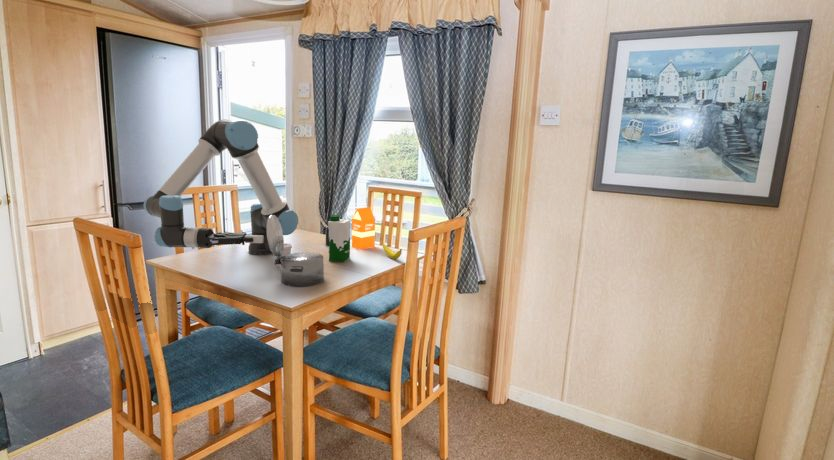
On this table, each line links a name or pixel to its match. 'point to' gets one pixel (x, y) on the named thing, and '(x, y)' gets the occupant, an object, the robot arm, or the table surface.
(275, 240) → the lid
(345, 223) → the milk carton
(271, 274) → the table surface
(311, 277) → the cooker
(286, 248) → the smoothie
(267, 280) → the table surface
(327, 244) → the supplement bottle
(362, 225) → the orange juice
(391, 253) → the banana
